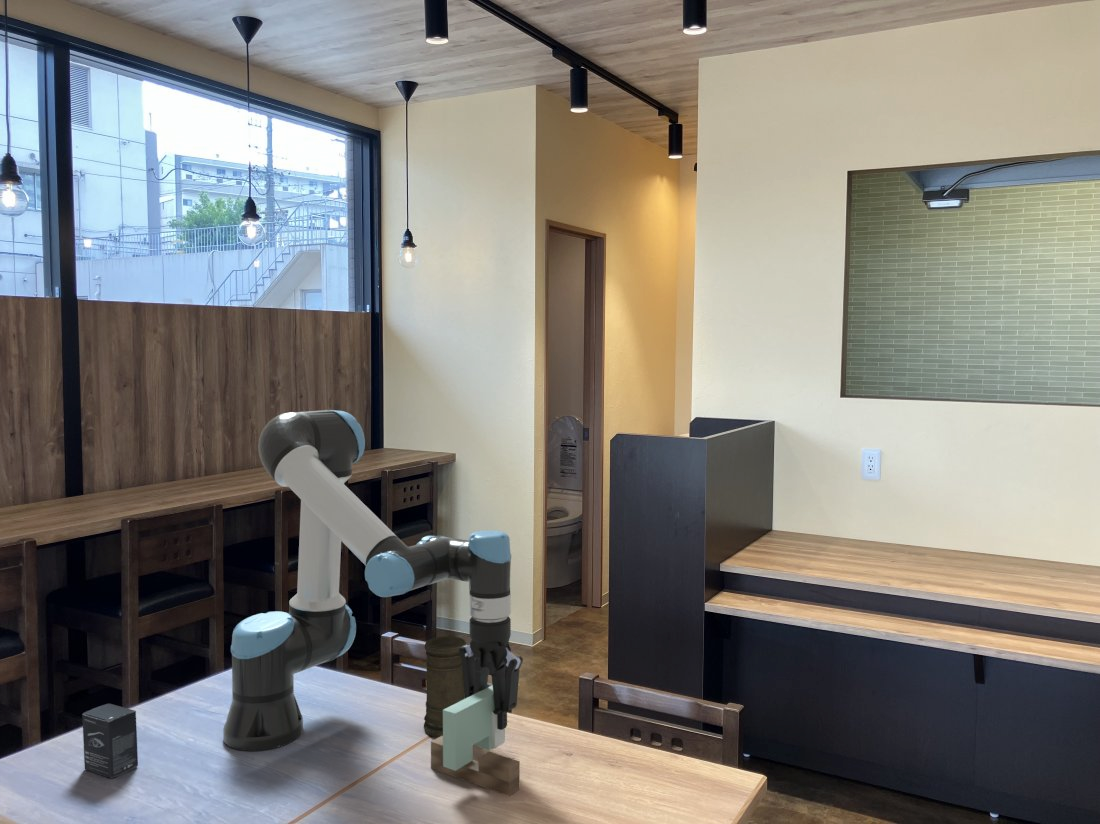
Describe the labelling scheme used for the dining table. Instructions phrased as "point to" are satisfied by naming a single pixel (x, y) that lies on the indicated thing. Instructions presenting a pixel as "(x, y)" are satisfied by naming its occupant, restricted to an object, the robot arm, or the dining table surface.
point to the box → (110, 740)
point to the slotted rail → (482, 770)
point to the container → (442, 680)
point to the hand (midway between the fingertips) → (490, 742)
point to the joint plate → (467, 728)
